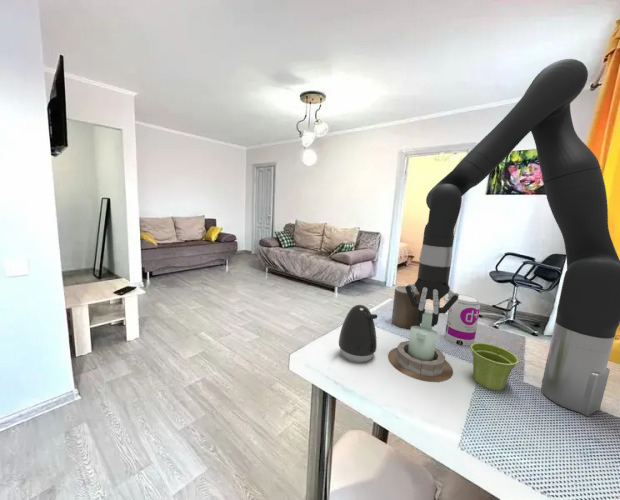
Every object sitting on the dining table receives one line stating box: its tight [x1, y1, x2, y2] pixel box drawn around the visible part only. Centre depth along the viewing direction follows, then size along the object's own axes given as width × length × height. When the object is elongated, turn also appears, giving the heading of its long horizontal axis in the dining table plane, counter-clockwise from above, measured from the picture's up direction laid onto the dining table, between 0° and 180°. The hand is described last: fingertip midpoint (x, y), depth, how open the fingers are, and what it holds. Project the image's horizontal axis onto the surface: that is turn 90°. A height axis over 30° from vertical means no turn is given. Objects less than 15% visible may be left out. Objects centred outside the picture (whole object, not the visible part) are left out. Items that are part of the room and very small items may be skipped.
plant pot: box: [470, 342, 519, 391], centre depth 64 cm, size 9×9×9 cm
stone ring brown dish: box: [387, 340, 454, 383], centre depth 71 cm, size 16×16×4 cm
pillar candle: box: [391, 285, 421, 331], centre depth 94 cm, size 10×10×15 cm
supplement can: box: [444, 293, 481, 347], centre depth 84 cm, size 8×8×15 cm
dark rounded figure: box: [338, 304, 378, 363], centre depth 72 cm, size 10×10×15 cm
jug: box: [407, 311, 438, 361], centre depth 71 cm, size 11×6×12 cm, turn 146°
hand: (427, 323), depth 73 cm, fingers closed on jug
